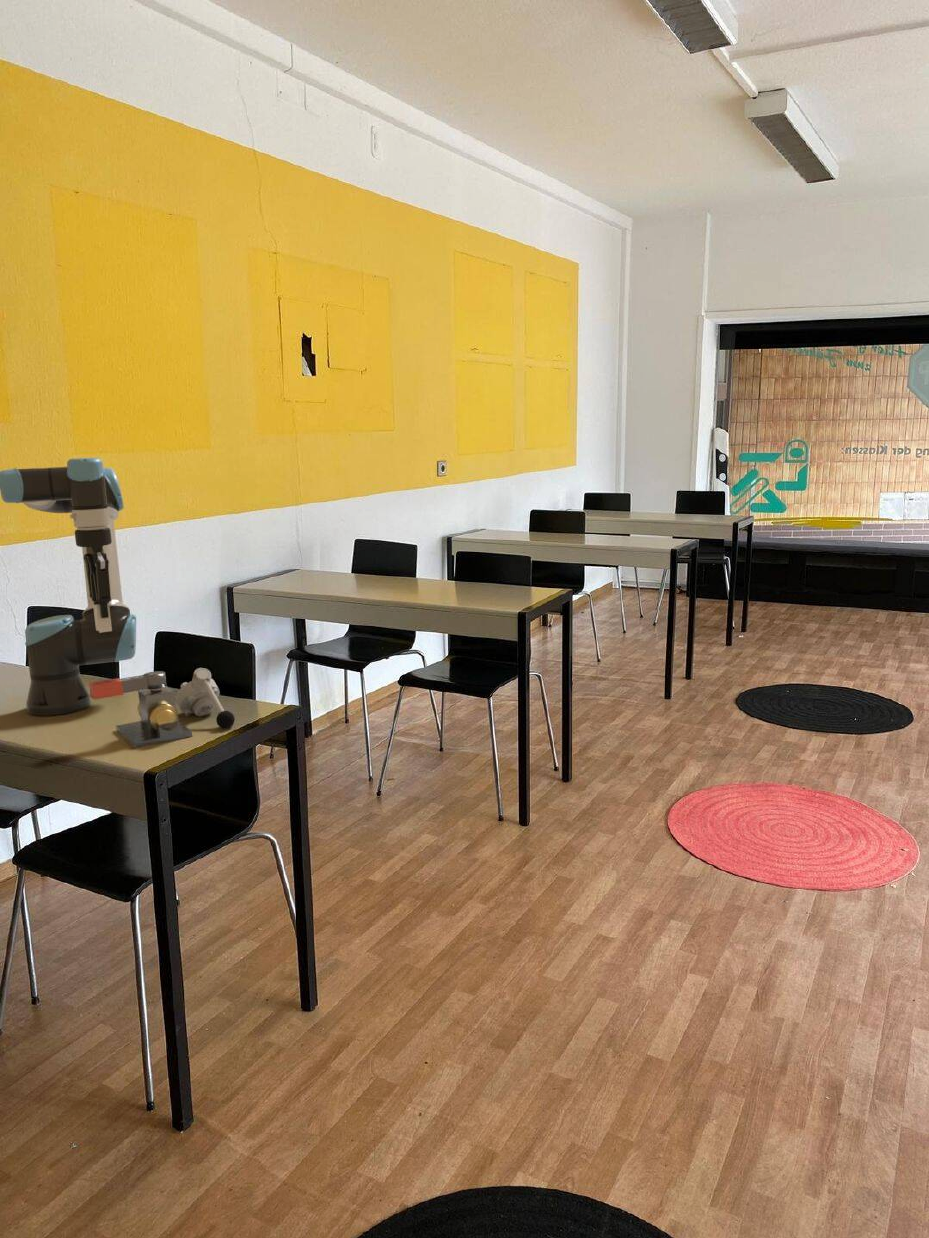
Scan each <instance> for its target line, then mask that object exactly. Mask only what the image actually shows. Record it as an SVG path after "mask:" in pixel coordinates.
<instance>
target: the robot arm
mask: <svg viewBox="0 0 929 1238" xmlns="http://www.w3.org/2000/svg"><path fill="white" fill-rule="evenodd" d="M120 486H121V485H120V483H119V480H118V477H117V473H116V471H115V470H114V469H113V468H111V467H104V464H103V460H102V458H99V457H82V458H81V457H79V458H69V459H68V460H67V462H66V466H56V467H54V466H53V467H39V468H37V467H36V468H35V467H33V468H11V469H2V470H1V471H0V496H1V499H2V501H3V502H5V503H6V504H12V503H13V504H20V503H21V504H22V503H23V504H24V505H25V506H26V507H28V508H29V509H32V510H35V511H40V512H45V513H51V514H52V513H53V514H70V515H69V517H70V519H73V527H74V528H75V531H74V537H75V545H76V547H79V548H81V549H82V560H83V561H82V562H83V571H84V582H85V589H86V599H87V606H86V608H85V609H84V610H83V612H82V619H78V620H77V619H76V620H75V618H74V616H73V615H71V614H64V615H63V614H62V615H61V614H60V615H55V616H50V617H46V618H42V619H38V620H36V621H34V622H31V623H30V624H28V625H26V628H25V629H24V637H25V642H24V644H25V645H24V646H26V651H27V660H28V669H29V675H30V676H29V677H30V683H29V684H30V685H29V688H28V689H29V690H28V693H27V698H26V705H25V706H26V712H27V713H28V714H29V715H32V716H38V717H39V716H41V717H47V716H49V717H50V716H58V715H59V716H60V715H64V714H65V715H66V714H70V713H74V712H77V711H81V710H84V709H86V708H87V707H89V706H90V705H91V703H92V702H91V697H90V691H89V690H88V688H87V687H86V685H85V683H84V680H83V679H82V676H81V672H80V666H84V665H86V666H87V665H95V664H104V663H113V662H115V663H118V662H120V661H121V662H122V661H128V660H131V659H133V658H134V657H135V654H136V650H137V616H136V615H135V614H133V613H131V611H130V608H129V607H128V605H125V604H124V603H123V601H124V600H123V594H122V583H121V574H120V566H119V555H118V549H117V539H116V537H117V536H116V530H115V529H116V528H115V521H116V520H117V519H118V518H119V516H120V511H122V510H123V509H124V507H125V506H124V499H123V496H122V492H121V491H122V490H121V487H120Z"/></svg>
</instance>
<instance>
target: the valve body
mask: <svg viewBox="0 0 929 1238" xmlns="http://www.w3.org/2000/svg"><path fill="white" fill-rule="evenodd" d="M137 692H138V693H137V694H138V704H137V714H138V715H139V716H140V720H138V721H133V722H127V723H123V724H117V725H115V730H116V732H117V733H118V734H119V735H120V736H121V737H122V738H123V739H124V740H125V741H126V742H127V743H128V744H129V745H130V746H131V747H132V748H134V749H138V748H142V747H146V746H147V747H148V746H151V745H157V744H162V743H167V742H172V741H176V740H181V739H186V738H190V737H193V731H192V730H191V729H190V728H189V727H187V726H186V725H184V724H183V723H182V722H181V721H180V713H179V711H178V709H177V708H176V700H175V691H174V690H173V689H171V688H170V687H169V686H167V685H166V686H165V687H163V688H160V689H145V690H139V691H137Z"/></svg>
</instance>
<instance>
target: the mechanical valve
mask: <svg viewBox="0 0 929 1238" xmlns="http://www.w3.org/2000/svg"><path fill="white" fill-rule="evenodd" d="M220 694H221V691H220V689H219V687H218V685H217V684H216V682H215V680H214V679H213V678H212V673H211V671H210V670H209V669H208V668H203V667H199V668H198V667H197V668H196V669H195V670H194V672H193V675H192V679H191V681H189V682H187V681H185V682H183V683H181V684H180V688H179V690H178V691H177V692H176V694H175V695H174V697H175V703H176V704H177V706H178V708H179V710H180V712H181V713H184V715H185V717H188V716H190V715H192V714H194V715H195V716H197V717H202V716H206V715H209V714H210V713H211V712H212V711H214V709H216V711H217V713H218V714H217V716H216V724H217V726H218V727H219V728H221V729H229V728H231V727H233V725H234V724H235V720H236V718H235V715H234V714H233V712H231V711H229V710H225V709H224V708H223V706H222V704H221V702H220V699H219V696H220Z"/></svg>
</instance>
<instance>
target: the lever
mask: <svg viewBox="0 0 929 1238" xmlns="http://www.w3.org/2000/svg"><path fill="white" fill-rule="evenodd" d="M88 686H89V687H88V688H89V695H90V699H91V700H99V699H105V698H112V697H116V696H117V697H118V696H122V695H123V696H124V694H127V693H133V692H138V691H139V690H145V689H160V688H163V687H165V686H167V678H166V672H165V671H163V670H162V671H161V670H160V671H159V670H158V671H149V672H145V673H143V674H139V675H136V676H128V677H123V678H119V677H116V678H109V679H103V680H98V681H93V682H92V681H91V682H88Z"/></svg>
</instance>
